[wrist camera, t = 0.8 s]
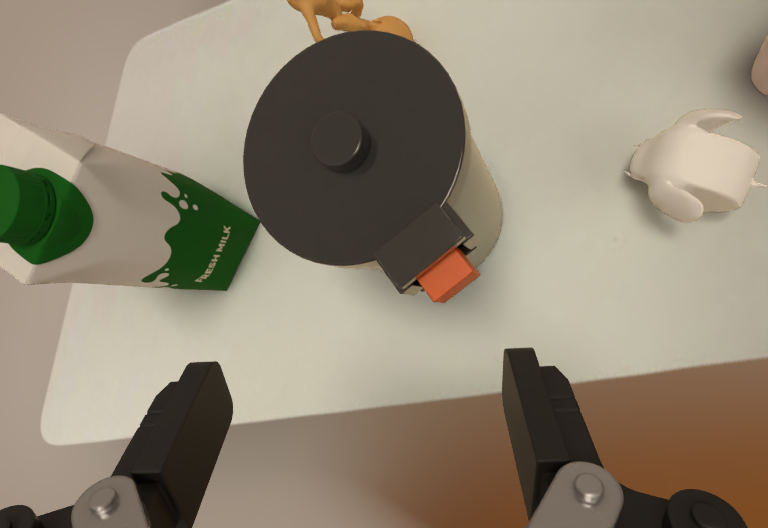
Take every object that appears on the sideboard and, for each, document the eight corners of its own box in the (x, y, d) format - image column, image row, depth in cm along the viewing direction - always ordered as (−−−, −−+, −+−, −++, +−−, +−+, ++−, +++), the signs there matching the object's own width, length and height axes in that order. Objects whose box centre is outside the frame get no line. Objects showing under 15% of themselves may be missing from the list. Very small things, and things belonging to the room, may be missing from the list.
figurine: (428, 96, 40) (376, 10, 28) (358, 118, 41) (283, 45, 30) (410, 2, 41) (353, -116, 29) (343, 27, 43) (266, -75, 31)
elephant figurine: (641, 119, 34) (658, 82, 29) (774, 151, 32) (821, 116, 26) (605, 212, 34) (614, 192, 29) (733, 251, 32) (771, 238, 26)
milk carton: (230, 304, 44) (-16, 299, 25) (160, 259, 47) (-106, 224, 28) (273, 215, 43) (54, 141, 24) (199, 175, 46) (-46, 81, 27)
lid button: (425, 278, 22) (412, 275, 20) (460, 249, 22) (451, 243, 20) (444, 303, 22) (433, 302, 20) (481, 274, 21) (473, 271, 19)
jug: (329, 185, 42) (163, 93, 24) (427, 97, 40) (322, -74, 22) (436, 329, 38) (329, 345, 20) (551, 240, 36) (545, 171, 18)
